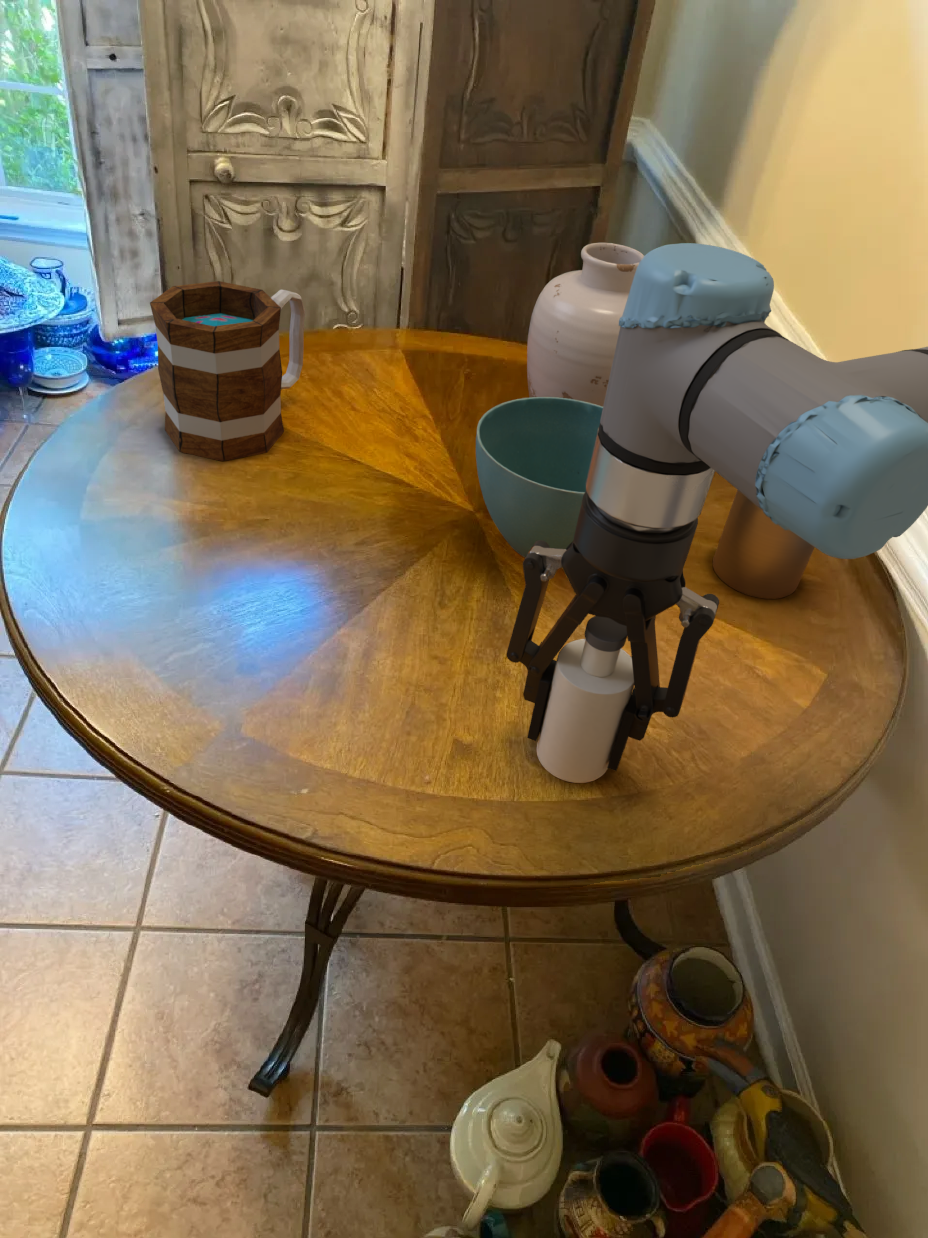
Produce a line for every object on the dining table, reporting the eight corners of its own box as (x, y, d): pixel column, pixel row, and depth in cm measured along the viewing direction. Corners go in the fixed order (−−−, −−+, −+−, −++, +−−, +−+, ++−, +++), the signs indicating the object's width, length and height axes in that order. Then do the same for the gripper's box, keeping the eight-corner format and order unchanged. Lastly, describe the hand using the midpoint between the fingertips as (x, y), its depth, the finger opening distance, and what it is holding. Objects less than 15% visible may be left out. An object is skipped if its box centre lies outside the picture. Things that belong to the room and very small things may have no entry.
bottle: (624, 762, 74) (666, 637, 65) (571, 795, 71) (607, 668, 62) (574, 716, 78) (607, 591, 69) (521, 745, 74) (548, 618, 66)
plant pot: (595, 490, 105) (618, 392, 98) (663, 588, 93) (695, 485, 85) (444, 500, 100) (455, 398, 93) (493, 606, 88) (510, 498, 80)
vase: (550, 480, 106) (588, 285, 91) (492, 415, 117) (517, 230, 102) (663, 462, 112) (715, 276, 97) (597, 402, 122) (636, 225, 108)
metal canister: (815, 581, 96) (875, 448, 86) (762, 609, 92) (819, 472, 81) (748, 537, 101) (797, 406, 91) (695, 562, 97) (740, 427, 86)
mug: (221, 474, 100) (211, 344, 90) (139, 429, 105) (121, 301, 95) (342, 414, 113) (345, 294, 103) (263, 377, 118) (259, 259, 108)
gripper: (797, 516, 59) (700, 753, 74) (522, 435, 63) (483, 674, 78) (783, 579, 54) (681, 820, 69) (483, 486, 58) (449, 733, 73)
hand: (576, 742), depth 73 cm, fingers closed on bottle, 6 cm apart
